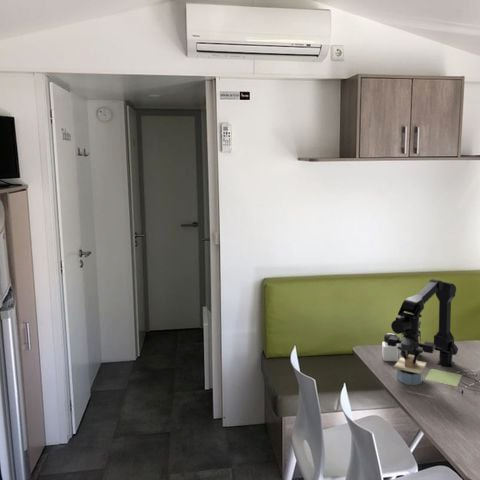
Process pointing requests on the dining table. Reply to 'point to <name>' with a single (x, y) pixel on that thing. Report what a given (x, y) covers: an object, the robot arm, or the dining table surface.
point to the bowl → (409, 377)
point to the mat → (443, 377)
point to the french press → (415, 348)
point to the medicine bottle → (389, 350)
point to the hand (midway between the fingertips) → (410, 363)
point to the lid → (410, 364)
